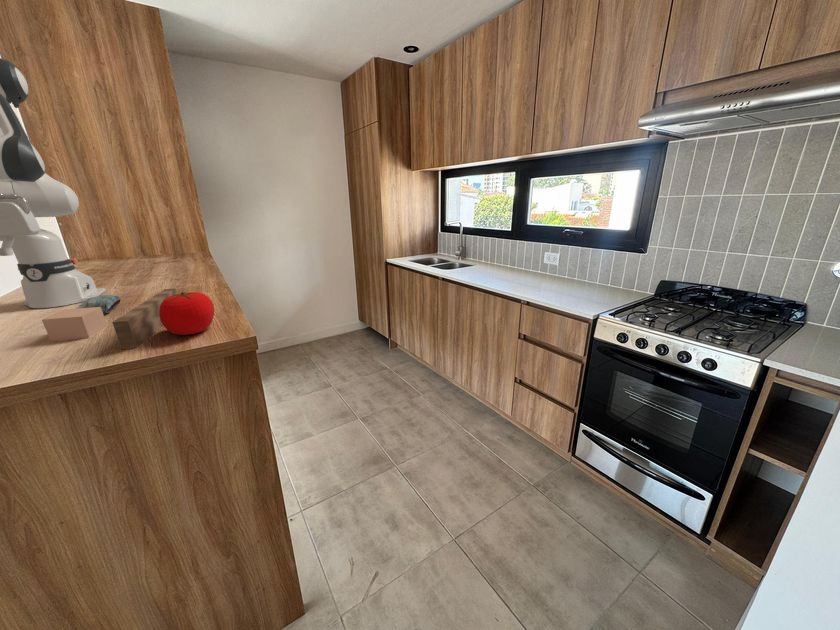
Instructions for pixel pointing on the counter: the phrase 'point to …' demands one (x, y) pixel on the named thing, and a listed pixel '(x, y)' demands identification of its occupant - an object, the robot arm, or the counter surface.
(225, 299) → the counter surface
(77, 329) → the terracotta block
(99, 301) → the packaged food
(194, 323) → the tomato
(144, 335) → the walnut board
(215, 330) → the counter surface
